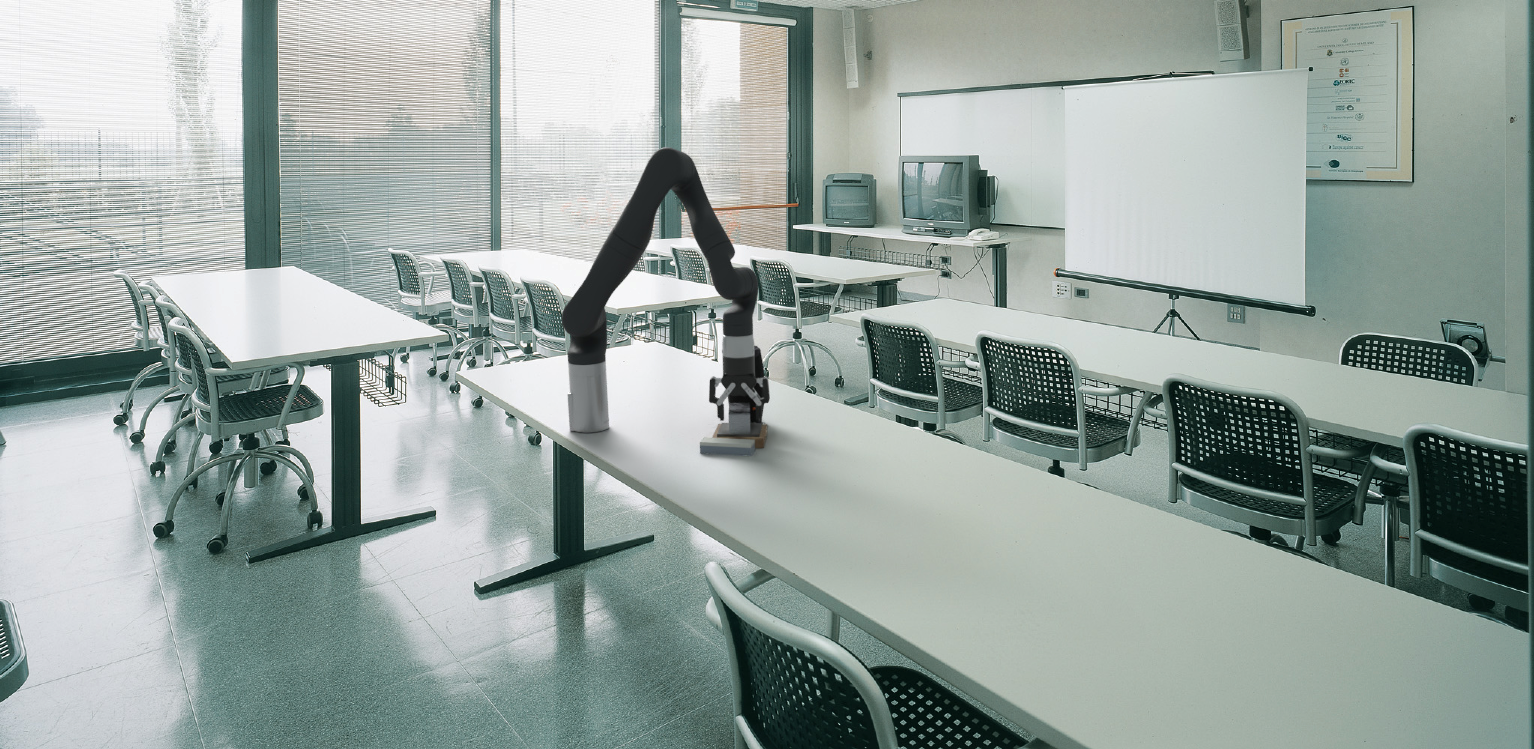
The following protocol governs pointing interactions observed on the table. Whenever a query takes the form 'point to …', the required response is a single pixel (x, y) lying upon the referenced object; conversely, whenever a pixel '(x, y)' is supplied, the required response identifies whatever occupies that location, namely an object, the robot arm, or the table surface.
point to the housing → (739, 418)
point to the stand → (756, 433)
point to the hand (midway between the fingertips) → (739, 419)
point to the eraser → (727, 446)
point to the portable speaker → (747, 399)
